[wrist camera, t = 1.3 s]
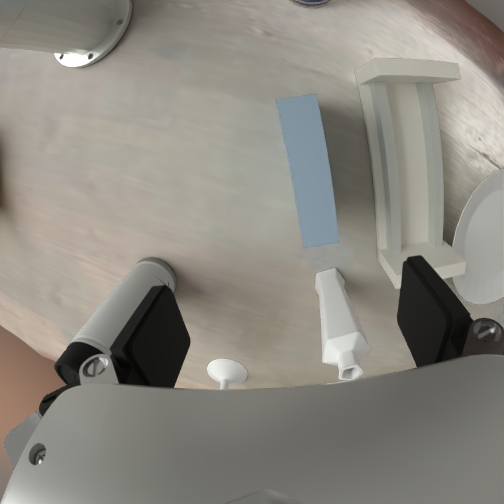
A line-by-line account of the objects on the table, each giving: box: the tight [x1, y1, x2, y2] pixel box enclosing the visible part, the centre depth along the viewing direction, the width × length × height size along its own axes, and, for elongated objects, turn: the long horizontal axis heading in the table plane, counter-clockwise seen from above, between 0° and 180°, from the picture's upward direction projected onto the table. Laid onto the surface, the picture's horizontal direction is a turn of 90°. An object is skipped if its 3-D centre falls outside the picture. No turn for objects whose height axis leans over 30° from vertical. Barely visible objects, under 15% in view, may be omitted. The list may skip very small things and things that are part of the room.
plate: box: [452, 168, 504, 305], centre depth 28 cm, size 21×21×2 cm
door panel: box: [276, 94, 339, 248], centre depth 25 cm, size 12×3×9 cm, turn 12°
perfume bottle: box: [315, 268, 371, 381], centre depth 28 cm, size 5×4×15 cm
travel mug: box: [54, 258, 176, 385], centre depth 28 cm, size 6×7×20 cm
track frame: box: [355, 58, 466, 289], centre depth 24 cm, size 22×9×7 cm, turn 12°
